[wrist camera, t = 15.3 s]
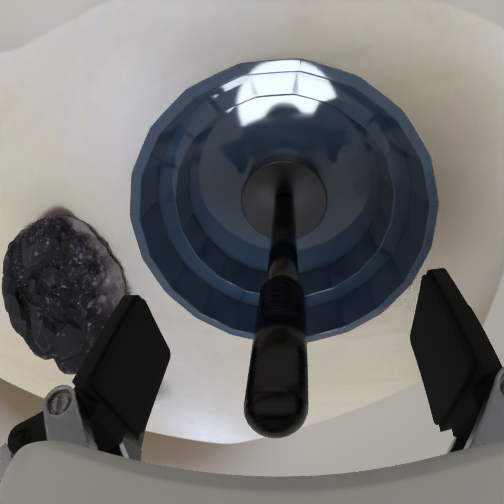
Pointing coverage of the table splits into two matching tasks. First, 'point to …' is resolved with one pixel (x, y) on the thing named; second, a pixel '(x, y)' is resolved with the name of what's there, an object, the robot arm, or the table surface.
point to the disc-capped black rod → (281, 291)
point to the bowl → (235, 174)
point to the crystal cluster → (60, 289)
